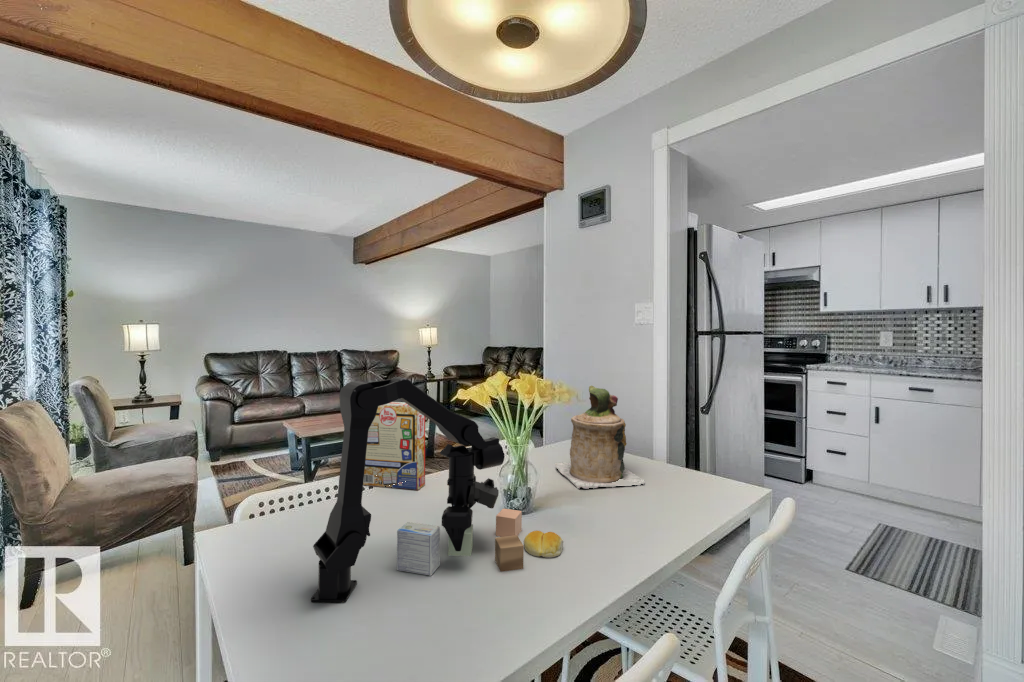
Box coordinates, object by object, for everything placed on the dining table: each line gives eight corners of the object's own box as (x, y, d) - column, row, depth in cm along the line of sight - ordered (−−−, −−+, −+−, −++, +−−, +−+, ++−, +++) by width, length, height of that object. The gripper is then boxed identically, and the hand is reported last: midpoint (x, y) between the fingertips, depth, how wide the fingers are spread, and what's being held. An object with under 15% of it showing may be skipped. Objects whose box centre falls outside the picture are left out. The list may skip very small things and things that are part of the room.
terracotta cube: (515, 539, 106) (515, 518, 106) (495, 536, 108) (496, 515, 108) (521, 530, 111) (521, 511, 111) (503, 527, 112) (503, 508, 112)
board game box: (425, 484, 144) (426, 402, 144) (417, 491, 138) (418, 405, 137) (369, 479, 148) (369, 399, 148) (358, 485, 142) (359, 402, 142)
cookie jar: (578, 491, 139) (579, 391, 139) (552, 468, 163) (553, 383, 163) (647, 486, 146) (649, 389, 145) (612, 464, 169) (614, 382, 169)
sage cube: (470, 556, 98) (470, 533, 98) (448, 556, 98) (448, 533, 98) (472, 545, 103) (472, 524, 103) (451, 545, 103) (451, 524, 103)
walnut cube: (523, 569, 93) (523, 545, 93) (500, 572, 91) (500, 548, 91) (516, 557, 97) (517, 535, 97) (494, 560, 96) (495, 537, 96)
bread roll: (528, 539, 106) (528, 523, 106) (565, 545, 104) (565, 528, 104) (519, 555, 99) (519, 537, 98) (558, 562, 96) (558, 544, 96)
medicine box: (440, 566, 93) (440, 525, 93) (430, 577, 89) (431, 534, 89) (406, 560, 95) (407, 520, 95) (396, 571, 91) (396, 529, 91)
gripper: (495, 487, 91) (494, 562, 91) (497, 461, 109) (497, 524, 110) (441, 487, 91) (440, 562, 91) (453, 461, 109) (452, 523, 109)
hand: (460, 541), depth 100 cm, fingers open, 9 cm apart
